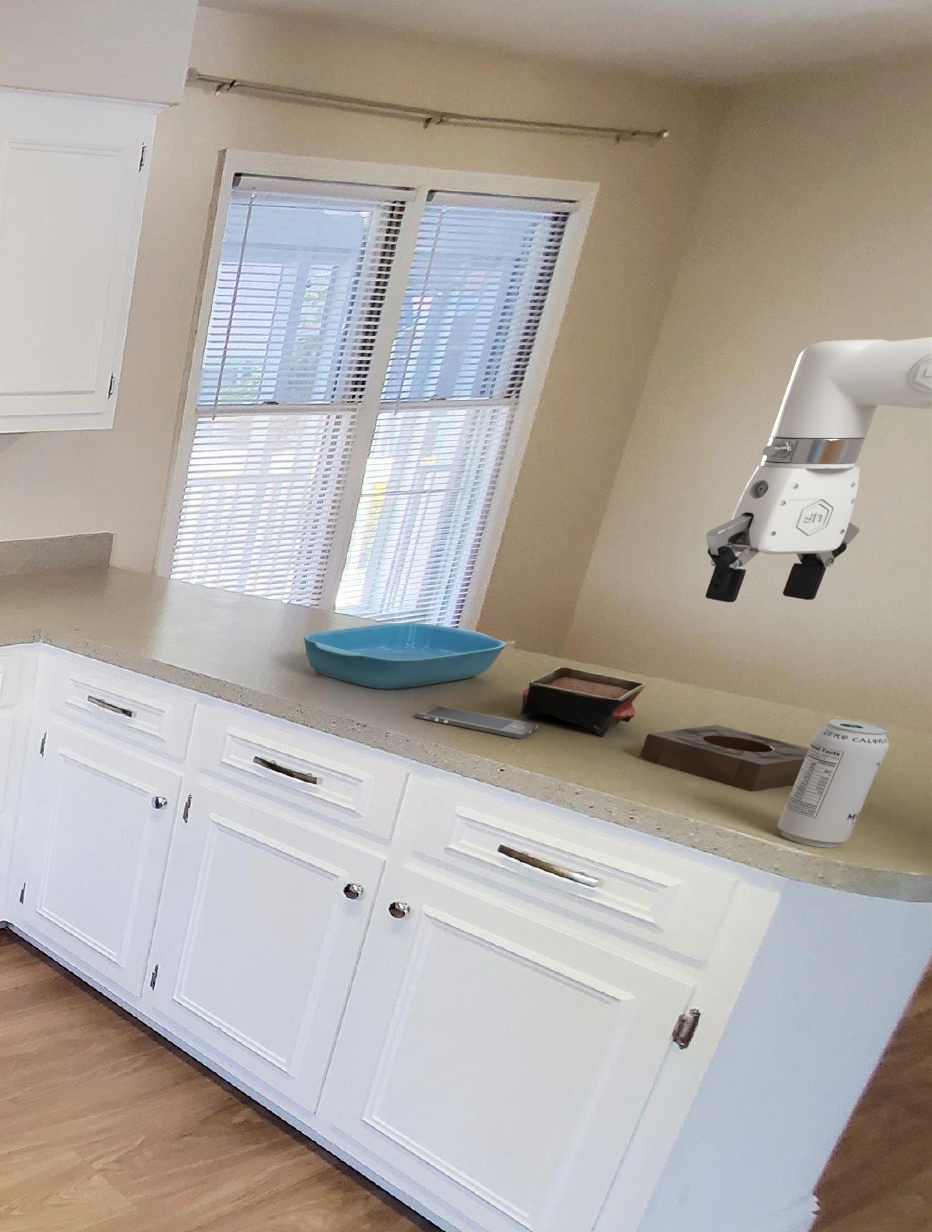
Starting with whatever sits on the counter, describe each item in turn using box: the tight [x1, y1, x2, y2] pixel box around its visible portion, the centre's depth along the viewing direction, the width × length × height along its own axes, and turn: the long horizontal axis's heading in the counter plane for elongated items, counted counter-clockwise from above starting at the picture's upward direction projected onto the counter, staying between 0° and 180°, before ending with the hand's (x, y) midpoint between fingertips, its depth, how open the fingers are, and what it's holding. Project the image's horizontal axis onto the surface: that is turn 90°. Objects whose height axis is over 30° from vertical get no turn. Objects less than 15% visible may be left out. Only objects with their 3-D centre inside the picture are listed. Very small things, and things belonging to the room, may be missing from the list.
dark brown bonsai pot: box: [518, 666, 646, 738], centre depth 170 cm, size 14×18×10 cm
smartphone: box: [414, 704, 539, 739], centre depth 171 cm, size 15×8×1 cm, turn 36°
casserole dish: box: [303, 622, 507, 690], centre depth 199 cm, size 37×22×7 cm, turn 108°
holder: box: [638, 724, 809, 792], centre depth 149 cm, size 14×14×4 cm
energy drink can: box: [776, 719, 890, 849], centre depth 125 cm, size 6×6×15 cm
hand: (758, 598), depth 125 cm, fingers open, 9 cm apart
